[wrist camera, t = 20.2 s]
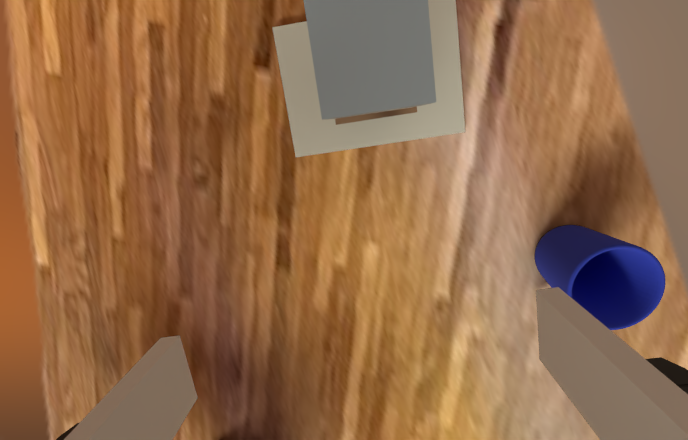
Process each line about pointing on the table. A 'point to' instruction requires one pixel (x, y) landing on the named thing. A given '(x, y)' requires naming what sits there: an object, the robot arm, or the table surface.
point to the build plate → (426, 122)
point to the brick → (370, 55)
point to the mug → (601, 274)
